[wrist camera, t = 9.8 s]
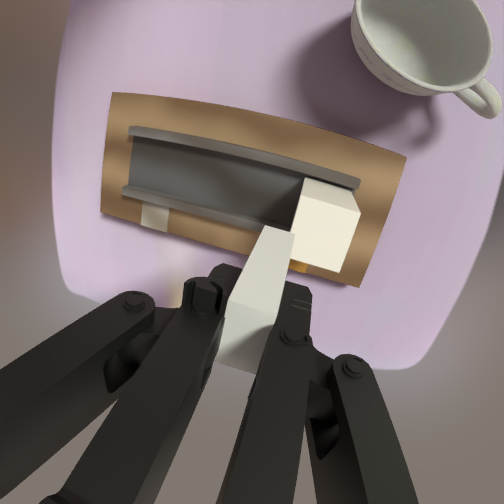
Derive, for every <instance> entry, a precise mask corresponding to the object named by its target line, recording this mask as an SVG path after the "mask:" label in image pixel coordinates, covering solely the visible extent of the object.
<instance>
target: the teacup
mask: <svg viewBox="0 0 504 504" xmlns="http://www.w3.org/2000/svg"><path fill="white" fill-rule="evenodd" d="M351 35H352V40H353V43H354V46H355V49H356V51H357V53H358V55H359V57H360V59H361V60H362V62H363V63H364V64H365V66H366V67H367V68H368V69H369V70H370V72H371V73H372V74H374V75H375V76H376V77H377V78H378V79H379V80H381V81H382V82H383V83H385V84H386V85H388V86H390V87H391V88H394V89H396V90H398V91H401V92H404V93H407V94H411V95H417V96H431V95H438V94H443V93H451V92H452V93H454V94H455V95H456V96H457V97H458V98H459V99H461V100H462V101H463V102H464V103H465V104H466V105H467V106H469V107H470V108H471V109H472V110H473V111H475V112H476V113H477V114H479V115H480V116H482V117H484V118H487V119H492V118H494V117H496V116H497V115H498V114H499V112H500V111H501V108H502V102H501V98H500V96H499V94H498V93H497V91H496V90H495V88H494V87H493V86H492V85H491V84H490V83H489V82H487V81H486V80H485V79H484V78H482V77H483V76H484V75H485V73H486V72H487V70H488V68H489V65H490V62H491V58H492V53H493V44H492V36H491V32H490V29H489V26H488V23H487V21H486V18H485V16H484V14H483V13H482V11H481V9H480V8H479V6H478V5H477V3H476V2H475V0H355V4H354V7H353V11H352V17H351ZM472 90H473V91H474V92H476V93H477V94H478V95H479V96H480V97H481V98H480V97H479V96H478V95H476V94H475V93H474V92H473V91H472Z"/></svg>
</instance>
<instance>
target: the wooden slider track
mask: <svg viewBox="0 0 504 504" xmlns="http://www.w3.org/2000/svg"><path fill="white" fill-rule="evenodd" d="M406 159H407V157H405V156H403V155H400V154H397V153H395V152H392V151H389V150H387V149H384V148H381V147H378V146H375V145H373V144H370V143H367V142H364V141H361V140H358V139H355V138H352V137H348V136H345V135H342V134H339V133H336V132H332V131H329V130H325V129H322V128H318V127H315V126H311V125H308V124H304V123H300V122H296V121H292V120H288V119H284V118H280V117H276V116H272V115H268V114H263V113H259V112H254V111H249V110H244V109H239V108H234V107H229V106H224V105H218V104H212V103H206V102H200V101H193V100H186V99H179V98H171V97H163V96H154V95H144V94H133V93H119V92H112V97H111V103H110V110H109V117H108V124H107V132H106V140H105V150H104V160H103V172H102V187H101V208H100V212H102V213H105V214H108V215H112V216H115V217H119V218H122V219H125V220H129V221H132V222H135V223H139V224H141V225H142V226H146V227H149V228H152V229H156V230H159V231H163V232H166V233H167V232H169V233H172V234H176V235H179V236H183V237H186V238H189V239H193V240H196V241H200V242H203V243H206V244H210V245H213V246H217V247H220V248H223V249H227V250H230V251H234V252H237V253H240V254H244V255H247V256H250V254H251V252H252V250H253V248H254V246H255V244H256V242H257V240H258V238H259V236H260V234H261V232H262V230H263V228H264V226H265V225H266V226H270V227H273V228H277V229H280V230H284V231H287V232H290V229H291V226H292V222H293V218H294V215H295V211H296V208H297V204H298V201H299V197H300V194H301V190H302V186H303V183H304V179H305V177H307V178H311V179H314V180H318V181H321V182H324V183H328V184H331V185H334V186H338V187H341V188H344V189H347V190H350V191H351V192H352V195H353V197H354V199H355V201H356V204H357V206H358V208H359V210H360V213H361V215H360V218H359V220H358V223H357V226H356V229H355V232H354V235H353V237H352V240H351V243H350V246H349V248H348V251H347V254H346V256H345V259H344V262H343V264H342V267H341V270H340V272H339V273H338V272H335V271H331V270H328V269H324V268H321V267H318V266H314V265H311V264H307V263H304V262H301V261H297V260H294V259H290V261H289V266H288V269H292V270H295V271H299V272H302V273H305V272H306V273H309V274H312V275H316V276H319V277H323V278H326V279H330V280H333V281H337V282H340V283H344V284H347V285H351V286H354V287H357V288H359V287H360V284H361V282H362V280H363V277H364V275H365V273H366V270H367V268H368V265H369V263H370V260H371V258H372V256H373V253H374V250H375V248H376V245H377V243H378V240H379V238H380V235H381V232H382V230H383V227H384V224H385V222H386V219H387V216H388V213H389V211H390V208H391V205H392V202H393V199H394V196H395V193H396V190H397V187H398V184H399V181H400V178H401V175H402V172H403V169H404V165H405V162H406Z"/></svg>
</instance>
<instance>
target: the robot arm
mask: <svg viewBox="0 0 504 504" xmlns="http://www.w3.org/2000/svg"><path fill="white" fill-rule="evenodd" d="M294 238H295V234H294V233H291V232H287V231H284V230H280V229H277V228H273V227H270V226H266V225H265V226H264V228H263V230H262V232H261V234H260V236H259V238H258V240H257V242H256V244H255V246H254V248H253V250H252V252H251V254H250V256H249V259H248V261H247V263H246V265H245V267H244V269H241V268H238V267H234V266H231V265H228V264H224V263H222V264H220V265H218V266H216V267H214V268H213V270H212V271H211V273H210V275H209V276H208V277H194V278H191V279H188V280H187V281H186V282H184V289H183V298H182V305H181V306H180V308H162V307H155V302H154V300H153V298H152V297H150V296H149V295H148V294H146V293H143V292H139V291H126V292H123V293H121V294H119V295H117V296H115V297H114V298H112V299H110V300H109V301H107V302H106V303H104V304H102V305H101V306H99V307H97V308H96V309H94V310H93V311H91V312H89V313H88V314H86V315H84V316H83V317H81V318H80V319H78V320H76V321H75V322H73V323H72V324H70V325H69V326H67V327H65V328H64V329H62V330H61V331H59V332H58V333H56V334H54V335H53V336H51V337H50V338H48V339H46V340H45V341H43V342H42V343H40V344H39V345H37V346H35V347H34V348H32V349H31V350H29V351H28V352H26V353H25V354H24V355H22V356H20V357H19V358H17V359H16V360H14V361H13V362H11V363H9V364H8V365H7V366H5V367H3V368H2V369H0V499H1V498H3V497H4V496H6V495H7V494H8V493H9V492H10V491H12V490H13V489H14V488H15V487H17V486H18V485H19V484H20V483H21V482H22V481H23V480H25V479H26V478H27V477H28V476H29V475H31V474H32V473H33V472H34V471H35V470H37V469H38V468H39V467H40V466H41V465H42V464H44V463H45V462H46V461H47V460H48V459H49V458H51V457H52V456H53V455H54V454H55V453H57V452H58V451H59V450H60V449H61V448H62V447H64V446H65V445H66V444H67V443H68V442H69V441H70V440H71V439H72V438H74V437H75V436H76V435H77V434H78V433H80V432H81V431H82V430H83V429H84V428H85V427H87V426H88V425H89V424H90V423H91V422H92V421H93V420H94V419H96V418H97V417H98V416H99V415H100V414H101V413H102V412H104V411H105V410H106V409H107V408H108V407H109V406H110V405H111V404H113V403H114V402H115V401H116V400H117V399H118V398H119V399H118V400H117V402H116V403H115V405H114V406H113V408H112V409H111V411H110V413H109V414H108V415H107V417H106V419H105V420H104V422H103V423H102V425H101V427H100V428H99V430H98V431H97V433H96V434H95V436H94V437H93V439H92V440H91V442H90V444H89V445H88V447H87V448H86V450H85V452H84V453H83V455H82V456H81V458H80V460H79V461H78V463H77V464H76V466H75V468H74V470H73V471H72V472H71V474H70V476H69V477H68V479H67V481H66V482H65V484H64V486H63V487H62V488H61V490H60V491H59V492H57V493H56V494H54V495H51V496H47V497H46V498H44V499H43V500H42V501H41V502H40V503H39V504H154V502H155V500H156V497H157V495H158V493H159V491H160V488H161V486H162V484H163V481H164V479H165V477H166V475H167V472H168V470H169V468H170V466H171V463H172V461H173V459H174V456H175V454H176V452H177V450H178V447H179V445H180V443H181V440H182V438H183V436H184V434H185V431H186V429H187V427H188V424H189V422H190V420H191V418H192V415H193V413H194V411H195V408H196V406H197V404H198V401H199V399H200V397H201V394H202V392H203V390H204V387H205V385H206V383H207V380H208V378H209V376H210V373H211V369H212V364H213V361H214V359H215V357H216V359H215V362H218V363H221V364H224V365H227V366H230V367H233V368H237V369H240V370H243V371H247V372H250V373H253V374H256V377H255V379H254V382H253V385H252V388H251V390H250V393H249V396H248V402H247V405H246V409H245V412H244V416H243V419H242V422H241V425H240V429H239V432H238V435H237V439H236V442H235V445H234V449H233V452H232V455H231V458H230V461H229V464H228V468H227V471H226V474H225V477H224V480H223V483H222V486H221V489H220V492H219V496H218V498H217V501H216V504H292V503H293V498H294V492H295V486H296V480H297V474H298V467H299V460H300V454H301V446H302V440H303V431H304V424H305V429H306V436H307V442H308V448H309V454H310V461H311V467H312V474H313V479H314V487H315V493H316V500H317V504H419V503H418V500H417V496H416V493H415V490H414V486H413V483H412V480H411V477H410V474H409V471H408V468H407V465H406V462H405V459H404V455H403V453H402V450H401V447H400V444H399V441H398V438H397V435H396V433H395V429H394V427H393V424H392V421H391V419H390V416H389V413H388V410H387V407H386V405H385V402H384V400H383V397H382V394H381V392H380V389H379V387H378V384H377V381H376V379H375V376H374V374H373V371H372V369H371V367H370V366H369V364H368V363H367V362H365V361H364V360H363V359H362V358H360V357H358V356H356V355H351V354H342V355H339V356H338V357H336V358H335V360H334V359H332V358H330V357H328V356H326V355H324V354H322V353H321V352H319V351H318V350H317V349H316V348H315V347H314V346H313V343H312V338H311V337H310V335H309V331H310V320H311V307H312V305H311V304H312V294H311V292H310V290H309V288H308V287H306V286H302V285H299V284H295V283H292V282H289V281H285V279H286V275H287V270H288V266H289V261H290V257H291V252H292V247H293V243H294Z"/></svg>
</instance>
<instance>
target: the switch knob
mask: <svg viewBox="0 0 504 504" xmlns="http://www.w3.org/2000/svg"><path fill="white" fill-rule="evenodd" d="M360 215H361V213H360V210H359V208H358V206H357V204H356V201H355V199H354V197H353V195H352V192H351V191H350V190H347V189H344V188H341V187H338V186H334V185H331V184H328V183H324V182H321V181H318V180H314V179H311V178H307V177H305V179H304V183H303V186H302V190H301V194H300V197H299V201H298V204H297V208H296V211H295V215H294V218H293V222H292V226H291V229H290V232H291V233H294V234H295V238H294V243H293V247H292V252H291V257H290V259H294V260H297V261H301V262H304V263H307V264H311V265H314V266H318V267H321V268H324V269H328V270H331V271H335V272H338V273H339V272H340V270H341V267H342V264H343V262H344V259H345V256H346V254H347V251H348V248H349V246H350V243H351V240H352V237H353V235H354V232H355V229H356V226H357V223H358V220H359V218H360Z"/></svg>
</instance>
